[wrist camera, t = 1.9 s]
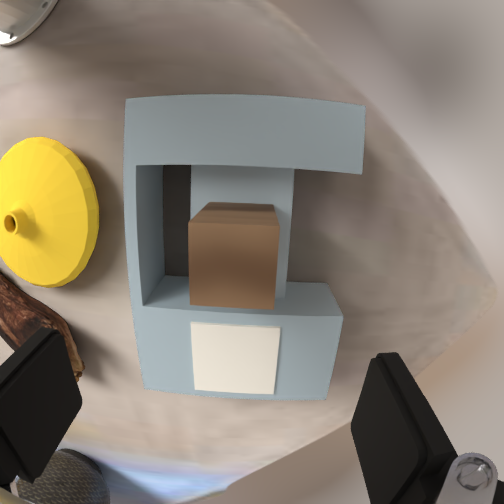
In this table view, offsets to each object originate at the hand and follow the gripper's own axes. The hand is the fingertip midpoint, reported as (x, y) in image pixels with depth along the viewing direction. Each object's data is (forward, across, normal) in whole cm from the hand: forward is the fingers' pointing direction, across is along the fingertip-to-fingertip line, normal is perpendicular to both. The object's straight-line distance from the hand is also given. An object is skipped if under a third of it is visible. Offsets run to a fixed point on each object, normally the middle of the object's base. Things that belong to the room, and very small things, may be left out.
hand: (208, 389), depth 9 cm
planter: (+22, +29, +45) cm, 58 cm away
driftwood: (+22, +28, +10) cm, 37 cm away
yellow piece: (+22, +21, -1) cm, 31 cm away
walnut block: (+18, 0, 0) cm, 18 cm away
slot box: (+22, 0, +2) cm, 22 cm away
